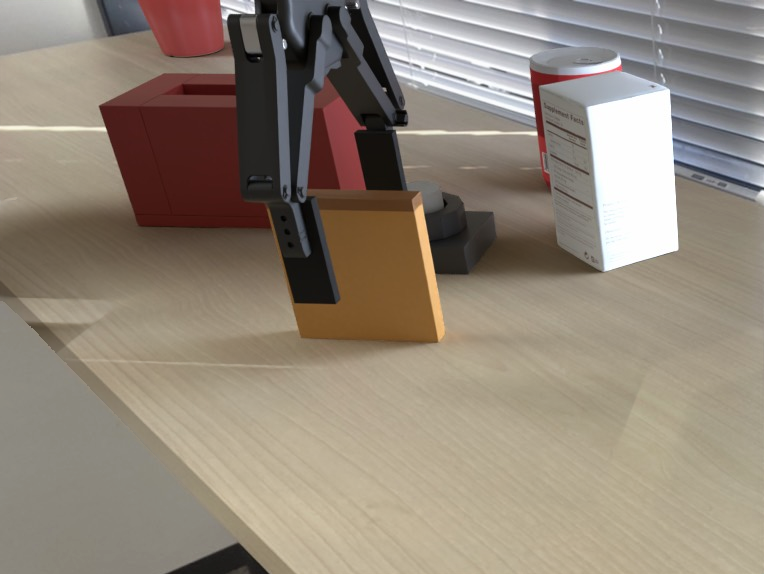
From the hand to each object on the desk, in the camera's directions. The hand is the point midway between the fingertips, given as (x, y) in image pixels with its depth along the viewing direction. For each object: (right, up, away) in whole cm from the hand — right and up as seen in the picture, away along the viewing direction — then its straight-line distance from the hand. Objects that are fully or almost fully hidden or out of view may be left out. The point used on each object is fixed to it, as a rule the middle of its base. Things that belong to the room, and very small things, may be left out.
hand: (358, 260), depth 78 cm
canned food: (+12, +14, +29) cm, 34 cm away
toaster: (-16, +11, +25) cm, 32 cm away
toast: (0, -4, +3) cm, 6 cm away
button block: (+1, +4, +15) cm, 16 cm away
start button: (+1, +7, +13) cm, 15 cm away
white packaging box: (+16, +5, +16) cm, 23 cm away
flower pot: (-47, +47, +76) cm, 100 cm away
